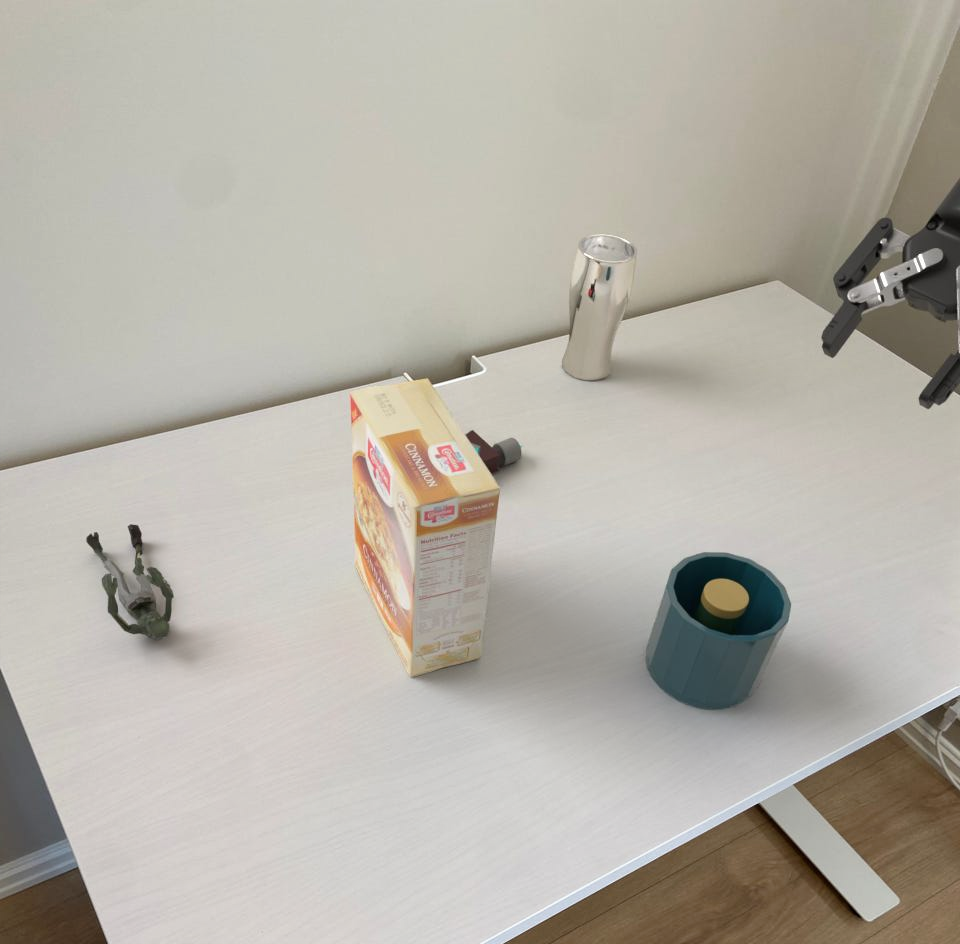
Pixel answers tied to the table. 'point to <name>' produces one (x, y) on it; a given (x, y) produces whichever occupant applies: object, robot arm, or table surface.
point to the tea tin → (722, 605)
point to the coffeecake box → (422, 523)
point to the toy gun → (495, 451)
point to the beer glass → (597, 303)
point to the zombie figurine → (137, 603)
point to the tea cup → (715, 633)
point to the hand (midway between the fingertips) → (874, 377)
